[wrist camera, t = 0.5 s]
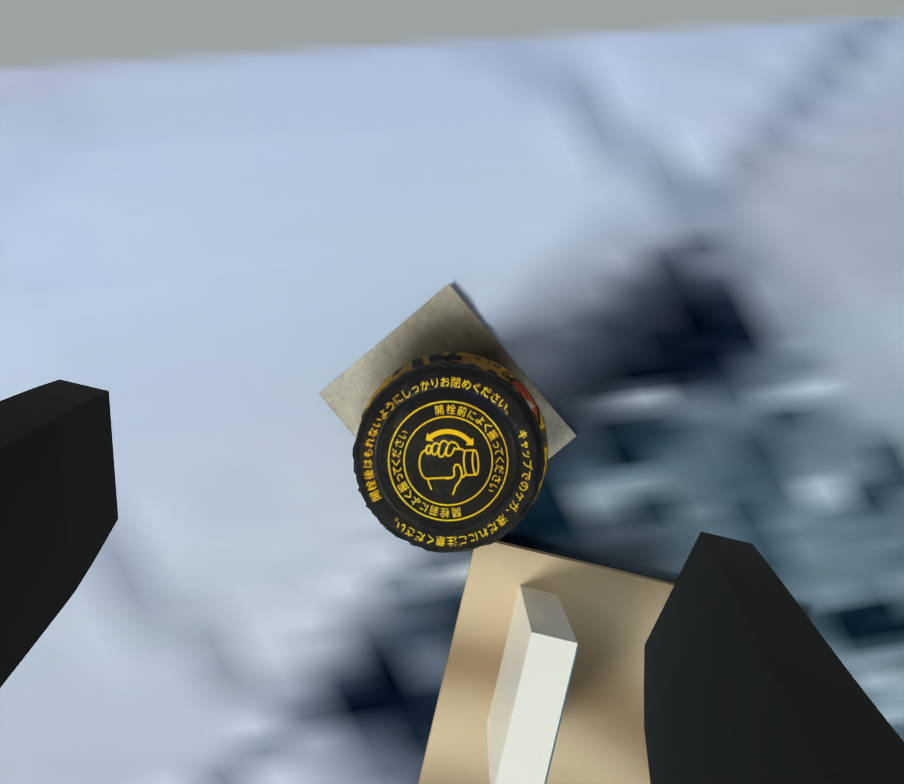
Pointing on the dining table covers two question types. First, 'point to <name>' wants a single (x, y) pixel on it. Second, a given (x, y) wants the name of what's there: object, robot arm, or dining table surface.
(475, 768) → the mat
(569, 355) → the dining table surface
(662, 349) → the dining table surface
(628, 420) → the dining table surface
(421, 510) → the condiment
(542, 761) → the block
